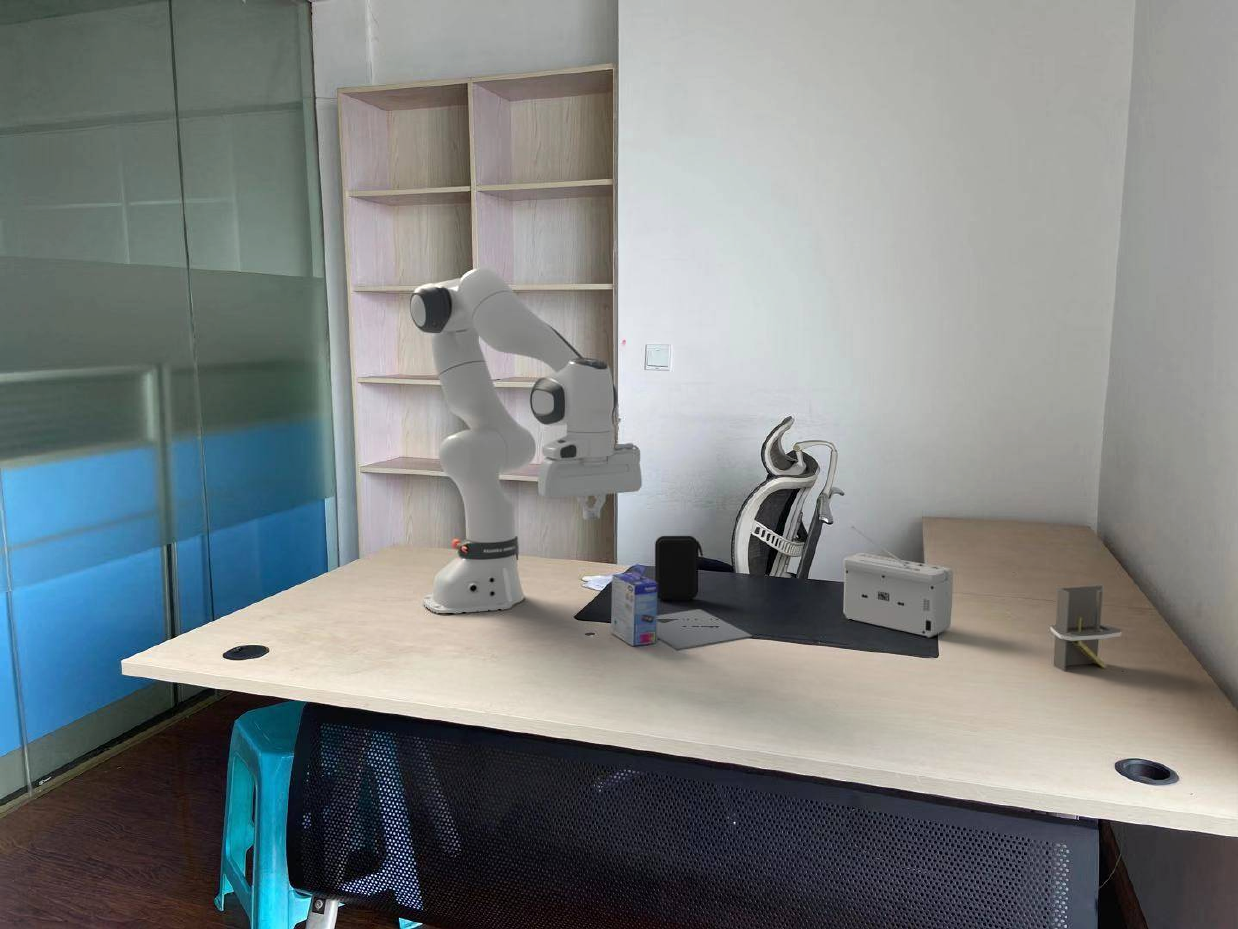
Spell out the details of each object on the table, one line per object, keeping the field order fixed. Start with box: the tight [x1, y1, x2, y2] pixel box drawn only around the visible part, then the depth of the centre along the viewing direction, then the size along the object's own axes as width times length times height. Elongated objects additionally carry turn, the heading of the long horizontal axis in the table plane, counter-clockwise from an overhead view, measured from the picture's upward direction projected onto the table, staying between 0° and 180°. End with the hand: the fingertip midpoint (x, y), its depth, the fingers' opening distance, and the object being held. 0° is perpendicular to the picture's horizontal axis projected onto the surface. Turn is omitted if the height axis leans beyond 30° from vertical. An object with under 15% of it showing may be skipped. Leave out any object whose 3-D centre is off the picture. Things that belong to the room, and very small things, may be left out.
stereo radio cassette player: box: [842, 525, 954, 639], centre depth 190 cm, size 21×8×20 cm, turn 47°
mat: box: [656, 608, 753, 651], centre depth 189 cm, size 17×20×1 cm
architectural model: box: [1050, 584, 1123, 672], centre depth 166 cm, size 20×25×15 cm
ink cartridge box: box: [610, 563, 658, 647], centre depth 183 cm, size 10×6×14 cm, turn 27°
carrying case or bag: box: [654, 535, 704, 601], centre depth 209 cm, size 11×3×15 cm, turn 90°
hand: (591, 518), depth 176 cm, fingers closed
